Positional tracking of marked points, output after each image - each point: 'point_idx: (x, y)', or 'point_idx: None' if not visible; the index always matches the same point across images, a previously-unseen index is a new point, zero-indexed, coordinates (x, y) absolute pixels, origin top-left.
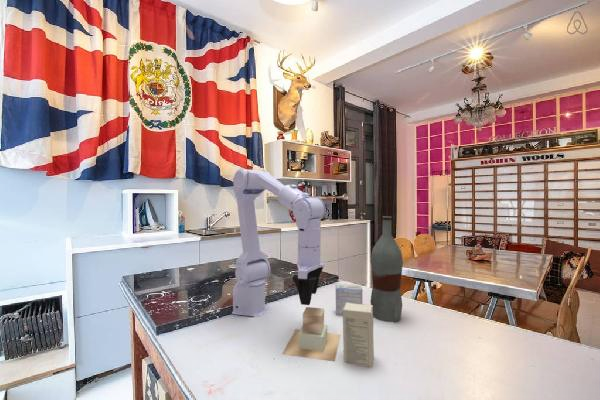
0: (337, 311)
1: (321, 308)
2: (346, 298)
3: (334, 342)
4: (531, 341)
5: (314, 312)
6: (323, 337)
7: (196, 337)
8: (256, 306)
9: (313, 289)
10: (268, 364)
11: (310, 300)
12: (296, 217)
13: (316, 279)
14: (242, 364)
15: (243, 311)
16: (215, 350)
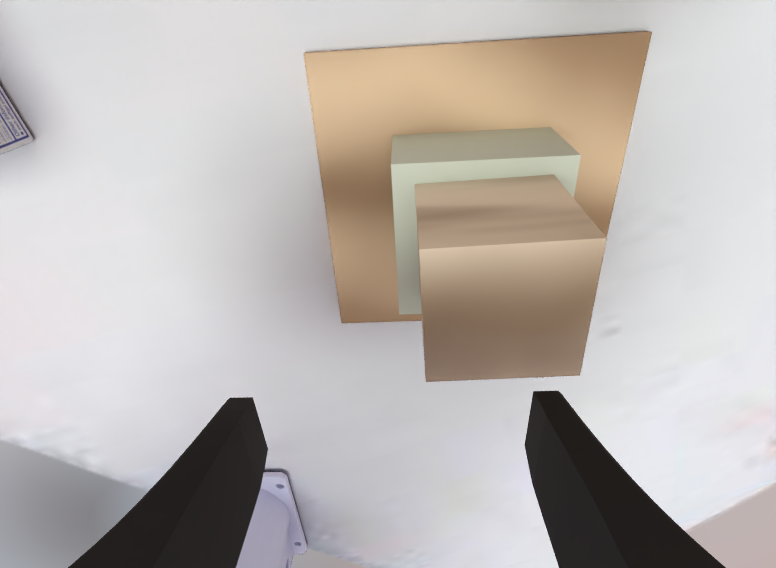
0: (2, 138)
1: (423, 271)
2: None
3: (424, 77)
4: None
5: (529, 307)
6: (574, 153)
7: (498, 560)
8: (263, 526)
9: (243, 449)
10: (657, 337)
11: (571, 419)
12: None
13: (179, 548)
14: (657, 411)
15: (287, 533)
16: None
